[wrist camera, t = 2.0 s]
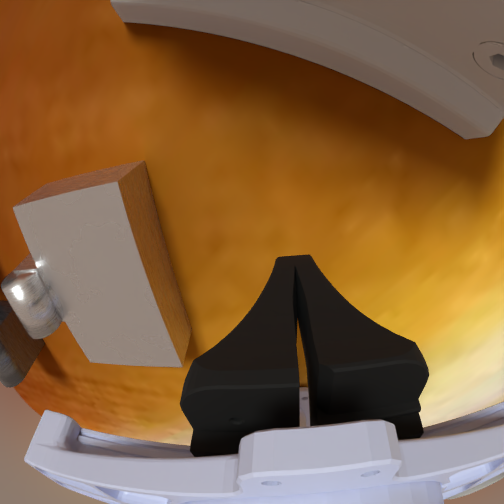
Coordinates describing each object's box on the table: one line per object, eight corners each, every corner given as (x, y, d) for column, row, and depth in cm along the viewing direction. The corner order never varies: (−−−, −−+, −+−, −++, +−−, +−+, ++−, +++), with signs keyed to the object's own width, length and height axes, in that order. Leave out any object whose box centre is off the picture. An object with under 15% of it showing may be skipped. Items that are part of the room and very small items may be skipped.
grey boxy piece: (192, 327, 18) (176, 391, 14) (72, 327, 19) (45, 376, 15) (145, 159, 13) (97, 198, 9) (12, 194, 14) (-39, 232, 10)
